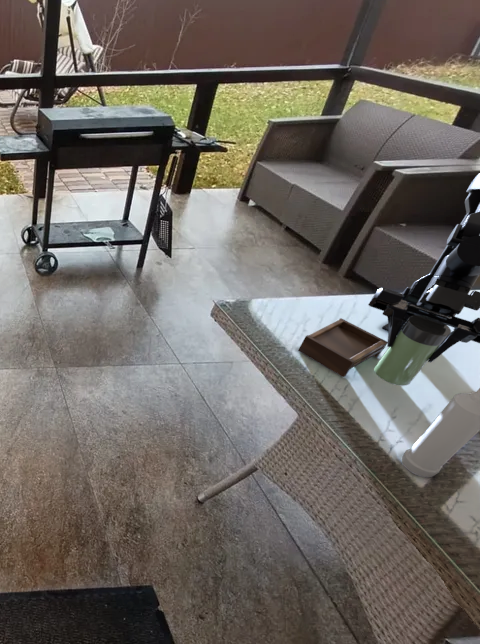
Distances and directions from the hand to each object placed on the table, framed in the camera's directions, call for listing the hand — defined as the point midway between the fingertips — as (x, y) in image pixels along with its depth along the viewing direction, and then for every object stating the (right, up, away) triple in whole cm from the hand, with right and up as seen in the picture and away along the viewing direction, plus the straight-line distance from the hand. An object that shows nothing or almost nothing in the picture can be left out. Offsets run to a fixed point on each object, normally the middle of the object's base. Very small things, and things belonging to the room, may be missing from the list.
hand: (408, 354), depth 90 cm
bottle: (-3, -20, -4) cm, 21 cm away
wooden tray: (+2, -1, +20) cm, 20 cm away
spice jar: (+1, -5, +5) cm, 7 cm away
